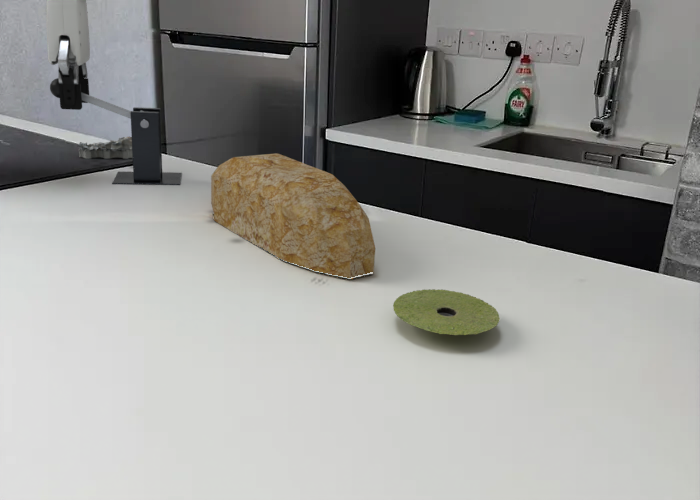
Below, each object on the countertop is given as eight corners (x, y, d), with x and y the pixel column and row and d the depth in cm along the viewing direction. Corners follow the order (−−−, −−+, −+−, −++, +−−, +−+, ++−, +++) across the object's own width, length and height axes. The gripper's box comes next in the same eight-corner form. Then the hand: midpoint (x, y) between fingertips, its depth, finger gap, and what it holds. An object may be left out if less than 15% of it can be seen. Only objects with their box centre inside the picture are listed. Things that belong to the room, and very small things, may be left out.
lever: (45, 95, 109) (51, 76, 108) (49, 92, 112) (55, 73, 111) (150, 134, 114) (156, 116, 113) (152, 130, 117) (158, 113, 116)
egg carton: (138, 156, 138) (137, 136, 136) (135, 164, 131) (134, 143, 130) (82, 155, 135) (80, 134, 134) (76, 163, 129) (74, 142, 127)
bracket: (112, 190, 114) (107, 112, 109) (118, 178, 121) (114, 105, 117) (180, 190, 116) (178, 115, 111) (182, 178, 123) (180, 107, 119)
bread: (191, 207, 107) (190, 144, 104) (252, 199, 114) (253, 139, 110) (324, 286, 81) (329, 205, 78) (393, 270, 87) (400, 194, 84)
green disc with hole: (408, 354, 67) (410, 336, 66) (380, 305, 77) (381, 289, 76) (515, 349, 69) (518, 331, 68) (473, 302, 79) (475, 287, 79)
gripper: (53, -13, 113) (61, 97, 119) (27, -14, 97) (38, 113, 103) (100, -10, 114) (107, 99, 120) (83, -10, 98) (91, 115, 104)
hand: (75, 104), depth 112 cm, fingers open, 6 cm apart
